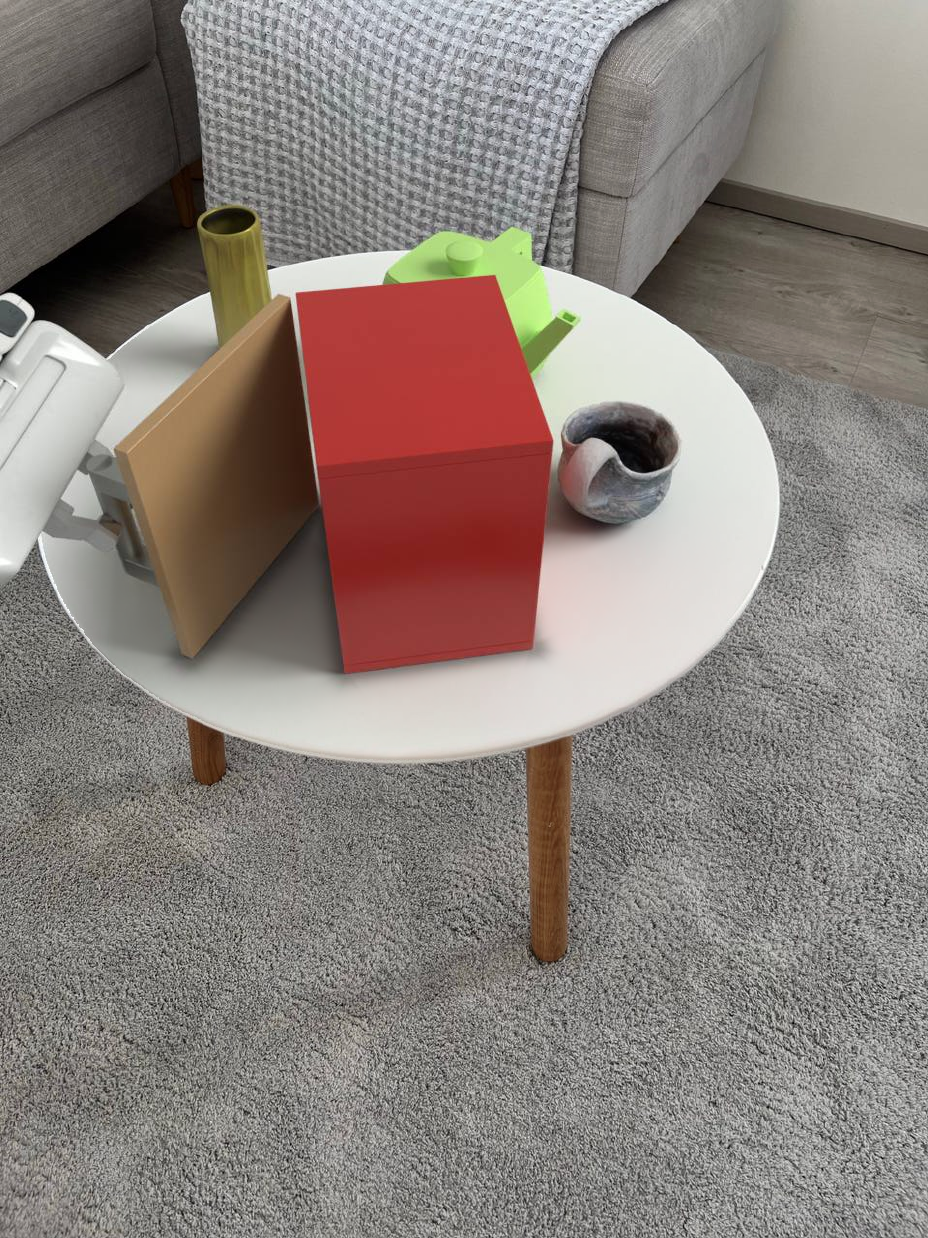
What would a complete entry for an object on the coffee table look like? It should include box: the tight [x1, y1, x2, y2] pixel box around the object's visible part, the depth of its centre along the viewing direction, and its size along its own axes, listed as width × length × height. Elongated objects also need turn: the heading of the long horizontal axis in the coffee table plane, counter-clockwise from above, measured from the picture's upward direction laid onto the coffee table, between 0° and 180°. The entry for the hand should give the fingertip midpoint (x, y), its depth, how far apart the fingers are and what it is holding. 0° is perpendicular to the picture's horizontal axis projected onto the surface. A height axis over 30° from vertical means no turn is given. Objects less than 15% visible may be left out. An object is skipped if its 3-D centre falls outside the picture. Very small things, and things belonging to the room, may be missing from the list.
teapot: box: [381, 226, 582, 381], centre depth 91 cm, size 18×20×13 cm
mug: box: [557, 400, 682, 525], centre depth 81 cm, size 10×12×10 cm
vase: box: [196, 204, 273, 350], centre depth 92 cm, size 6×6×14 cm
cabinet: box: [295, 275, 554, 674], centre depth 73 cm, size 14×18×20 cm
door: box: [86, 293, 320, 659], centre depth 73 cm, size 6×18×20 cm, turn 154°
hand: (126, 521), depth 70 cm, fingers closed
